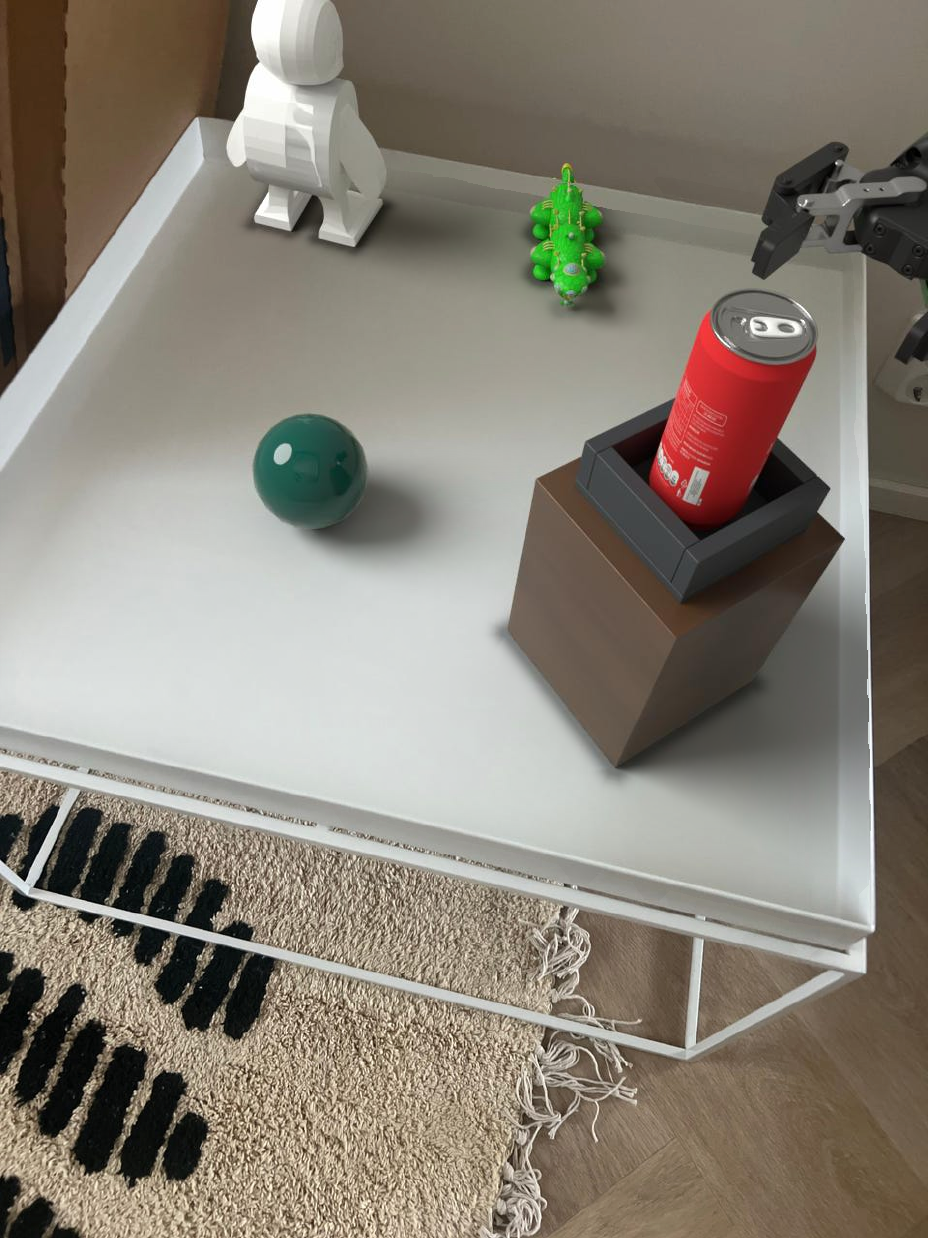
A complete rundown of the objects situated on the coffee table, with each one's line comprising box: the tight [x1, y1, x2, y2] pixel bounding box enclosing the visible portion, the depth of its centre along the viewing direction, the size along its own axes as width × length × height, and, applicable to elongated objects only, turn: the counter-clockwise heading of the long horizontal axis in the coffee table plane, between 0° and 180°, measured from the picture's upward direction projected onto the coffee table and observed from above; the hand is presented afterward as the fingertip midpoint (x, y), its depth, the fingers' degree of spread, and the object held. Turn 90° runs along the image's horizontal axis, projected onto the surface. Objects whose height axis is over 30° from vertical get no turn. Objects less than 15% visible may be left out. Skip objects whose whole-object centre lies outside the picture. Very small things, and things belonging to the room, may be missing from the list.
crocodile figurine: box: [529, 162, 607, 307], centre depth 87 cm, size 7×18×4 cm, turn 178°
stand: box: [506, 456, 846, 769], centre depth 60 cm, size 12×12×16 cm
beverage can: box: [649, 287, 819, 532], centre depth 47 cm, size 5×5×12 cm
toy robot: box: [225, 0, 387, 248], centre depth 80 cm, size 14×9×20 cm, turn 73°
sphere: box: [251, 412, 369, 530], centre depth 68 cm, size 8×8×8 cm
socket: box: [574, 396, 831, 604], centre depth 51 cm, size 9×9×4 cm
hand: (832, 304), depth 49 cm, fingers open, 8 cm apart
